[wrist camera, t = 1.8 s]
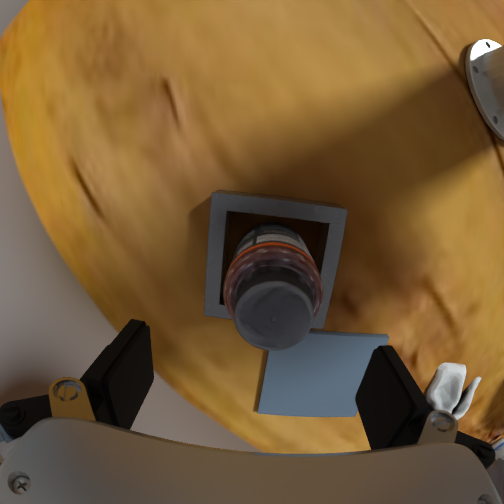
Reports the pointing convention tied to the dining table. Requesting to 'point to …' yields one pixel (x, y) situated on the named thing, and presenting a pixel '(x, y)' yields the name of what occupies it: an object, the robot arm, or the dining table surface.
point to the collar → (273, 206)
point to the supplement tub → (499, 449)
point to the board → (318, 375)
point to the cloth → (450, 390)
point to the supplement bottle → (272, 287)
